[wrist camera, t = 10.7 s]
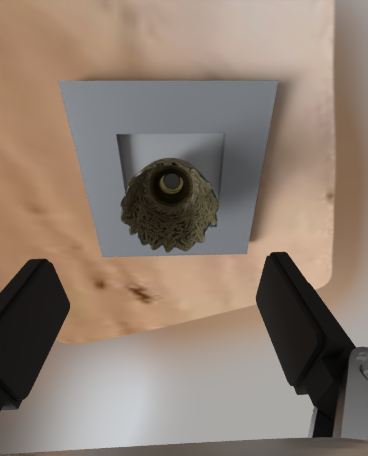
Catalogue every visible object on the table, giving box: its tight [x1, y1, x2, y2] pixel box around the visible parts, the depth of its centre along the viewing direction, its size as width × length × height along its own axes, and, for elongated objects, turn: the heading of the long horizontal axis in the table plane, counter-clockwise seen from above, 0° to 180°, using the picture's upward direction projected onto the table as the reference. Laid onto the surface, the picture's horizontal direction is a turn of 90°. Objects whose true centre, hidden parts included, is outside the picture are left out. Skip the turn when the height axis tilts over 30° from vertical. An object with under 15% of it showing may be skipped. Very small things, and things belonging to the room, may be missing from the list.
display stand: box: [58, 80, 278, 257], centre depth 23 cm, size 18×18×2 cm
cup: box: [120, 158, 219, 253], centre depth 19 cm, size 8×7×8 cm
